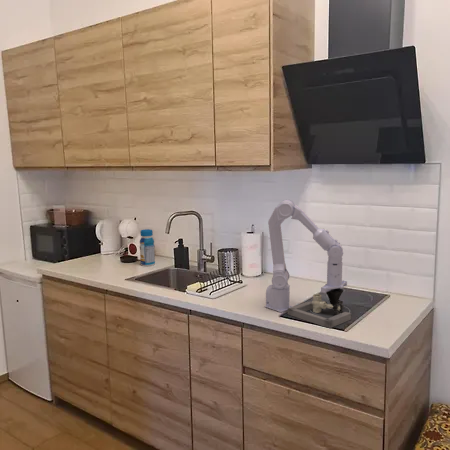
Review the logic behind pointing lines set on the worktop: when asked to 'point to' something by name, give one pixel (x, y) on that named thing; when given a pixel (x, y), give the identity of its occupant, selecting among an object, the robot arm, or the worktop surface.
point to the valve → (325, 305)
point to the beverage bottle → (147, 248)
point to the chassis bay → (301, 313)
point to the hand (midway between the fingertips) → (333, 306)
